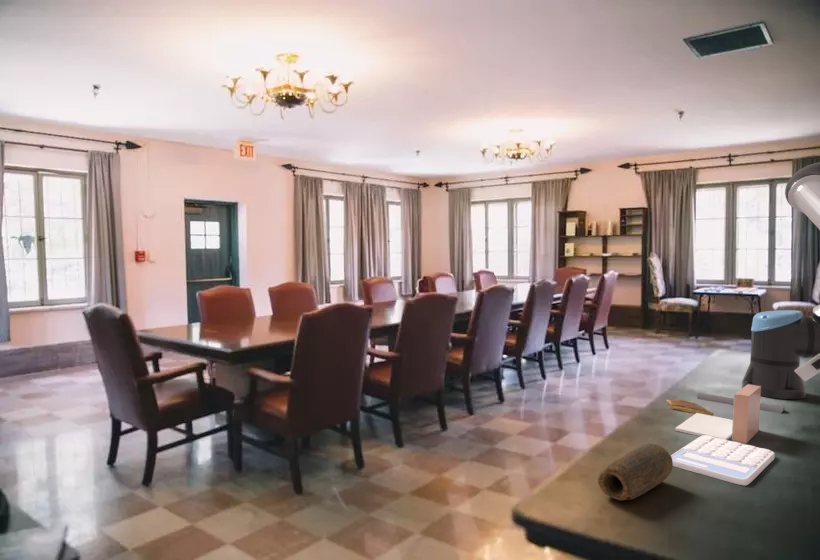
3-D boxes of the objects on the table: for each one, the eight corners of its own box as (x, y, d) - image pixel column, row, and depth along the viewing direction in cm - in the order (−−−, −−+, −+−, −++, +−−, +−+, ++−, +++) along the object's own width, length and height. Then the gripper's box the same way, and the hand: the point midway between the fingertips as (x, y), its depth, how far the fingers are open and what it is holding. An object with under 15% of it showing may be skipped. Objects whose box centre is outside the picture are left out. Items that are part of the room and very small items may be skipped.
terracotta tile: (744, 427, 124) (746, 384, 123) (758, 430, 122) (760, 386, 121) (731, 440, 115) (733, 393, 114) (746, 443, 113) (748, 396, 112)
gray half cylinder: (700, 397, 151) (700, 391, 151) (785, 412, 138) (785, 405, 138) (695, 400, 148) (696, 394, 148) (782, 416, 135) (782, 409, 135)
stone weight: (633, 472, 98) (635, 435, 97) (674, 484, 93) (676, 445, 92) (593, 497, 87) (594, 456, 87) (637, 513, 82) (638, 469, 82)
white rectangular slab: (696, 415, 132) (696, 412, 132) (743, 424, 126) (743, 422, 125) (675, 430, 121) (675, 427, 121) (725, 441, 114) (725, 438, 114)
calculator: (776, 459, 106) (776, 450, 106) (746, 490, 92) (746, 478, 92) (701, 441, 115) (702, 432, 115) (664, 466, 101) (665, 456, 101)
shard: (713, 419, 131) (713, 412, 131) (680, 418, 131) (681, 410, 131) (692, 406, 142) (692, 399, 141) (662, 405, 142) (662, 398, 142)
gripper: (937, 318, 93) (810, 396, 105) (935, 313, 102) (819, 385, 114) (897, 285, 96) (779, 365, 108) (898, 283, 106) (790, 356, 118)
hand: (800, 375), depth 111 cm, fingers closed
